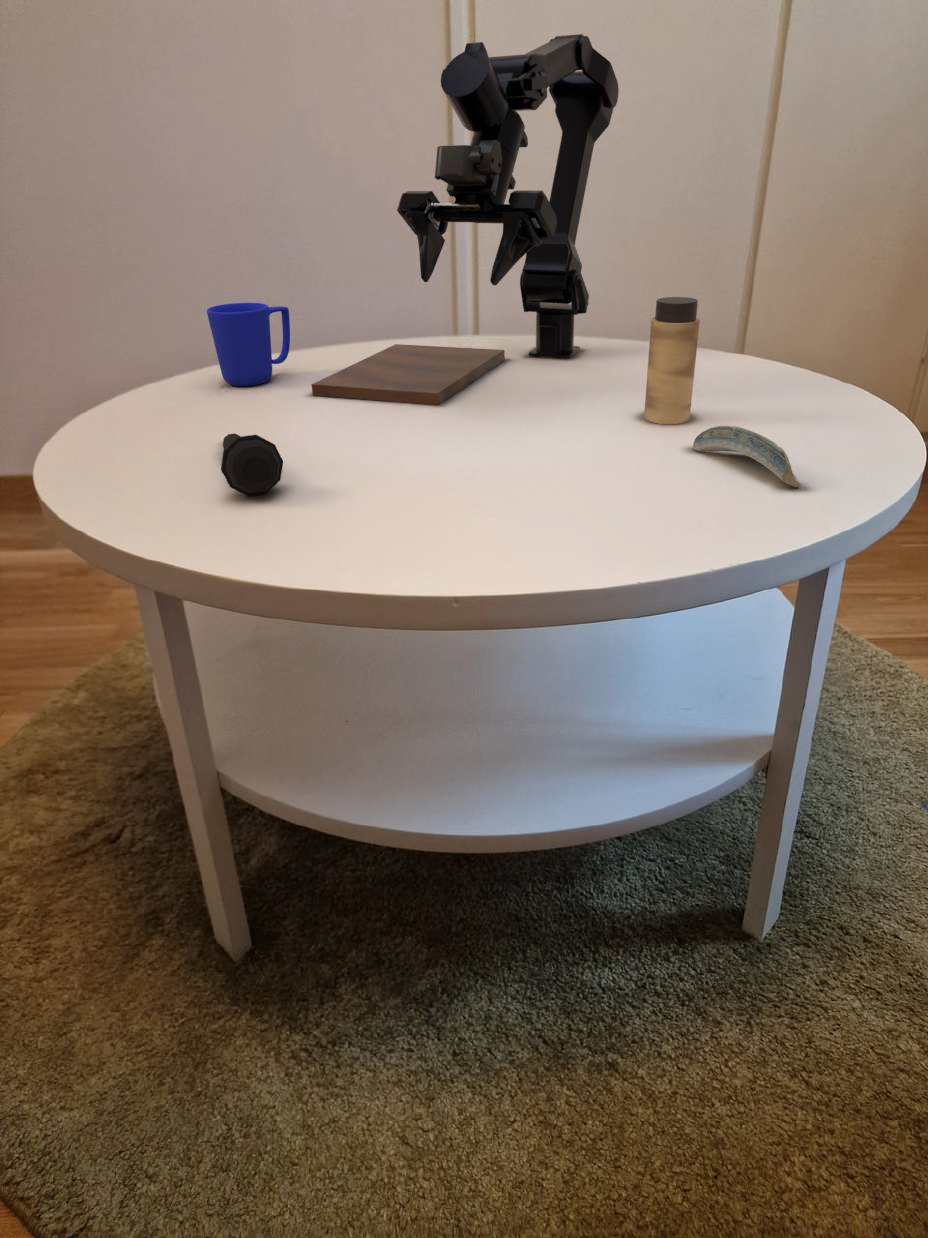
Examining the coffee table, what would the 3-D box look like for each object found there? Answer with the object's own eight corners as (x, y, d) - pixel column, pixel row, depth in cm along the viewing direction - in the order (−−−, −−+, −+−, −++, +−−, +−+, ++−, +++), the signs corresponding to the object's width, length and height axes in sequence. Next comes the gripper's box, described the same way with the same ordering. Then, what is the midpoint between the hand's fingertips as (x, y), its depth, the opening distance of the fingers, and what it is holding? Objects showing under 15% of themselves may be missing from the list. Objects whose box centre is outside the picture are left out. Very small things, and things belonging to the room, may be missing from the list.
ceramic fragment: (690, 448, 89) (694, 411, 87) (731, 441, 91) (736, 405, 89) (781, 493, 78) (788, 453, 76) (826, 484, 79) (834, 445, 77)
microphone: (219, 472, 95) (244, 512, 78) (193, 425, 93) (213, 455, 75) (262, 450, 96) (298, 485, 79) (238, 403, 94) (269, 428, 76)
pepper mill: (648, 410, 102) (657, 295, 96) (692, 413, 100) (704, 296, 94) (639, 422, 98) (648, 303, 91) (686, 425, 96) (698, 304, 90)
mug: (311, 375, 122) (303, 301, 118) (240, 392, 115) (228, 314, 110) (277, 367, 127) (268, 296, 123) (207, 383, 120) (194, 308, 115)
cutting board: (396, 353, 133) (395, 343, 133) (504, 359, 128) (504, 349, 127) (312, 395, 112) (311, 384, 112) (438, 405, 107) (437, 393, 106)
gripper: (393, 114, 98) (357, 241, 97) (543, 106, 90) (505, 245, 89) (434, 176, 108) (402, 291, 107) (572, 174, 100) (539, 298, 99)
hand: (457, 281), depth 100 cm, fingers open, 9 cm apart
